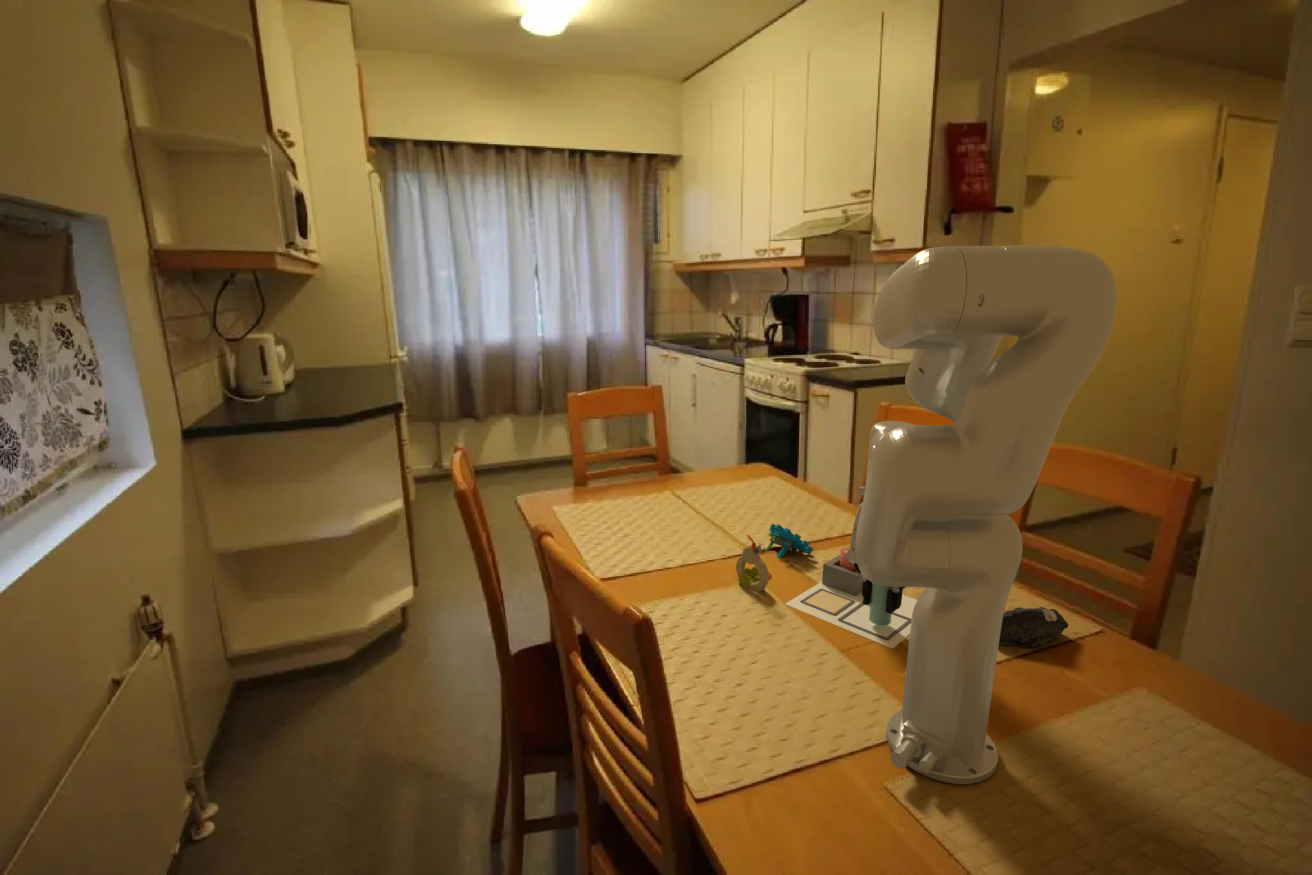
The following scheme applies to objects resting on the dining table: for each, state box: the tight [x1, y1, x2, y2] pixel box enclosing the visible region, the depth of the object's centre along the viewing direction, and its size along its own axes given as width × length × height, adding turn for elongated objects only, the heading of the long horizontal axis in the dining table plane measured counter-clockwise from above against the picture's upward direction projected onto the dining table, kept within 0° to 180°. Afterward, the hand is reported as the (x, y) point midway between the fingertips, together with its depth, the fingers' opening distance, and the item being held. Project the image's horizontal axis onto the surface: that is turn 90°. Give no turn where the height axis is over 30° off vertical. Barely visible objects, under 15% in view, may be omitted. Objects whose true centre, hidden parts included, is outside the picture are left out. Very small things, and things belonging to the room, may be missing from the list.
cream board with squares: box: [784, 581, 918, 650], centre depth 114 cm, size 18×20×1 cm
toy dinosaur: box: [765, 523, 814, 559], centre depth 135 cm, size 11×6×10 cm
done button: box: [839, 546, 857, 572], centre depth 121 cm, size 4×4×5 cm
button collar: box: [821, 554, 863, 596], centre depth 122 cm, size 7×7×4 cm
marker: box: [869, 583, 892, 625], centre depth 106 cm, size 4×4×11 cm
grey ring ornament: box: [735, 534, 772, 593], centre depth 121 cm, size 8×8×12 cm
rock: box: [999, 606, 1069, 648], centre depth 104 cm, size 12×8×10 cm
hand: (880, 605), depth 106 cm, fingers closed on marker, 3 cm apart
